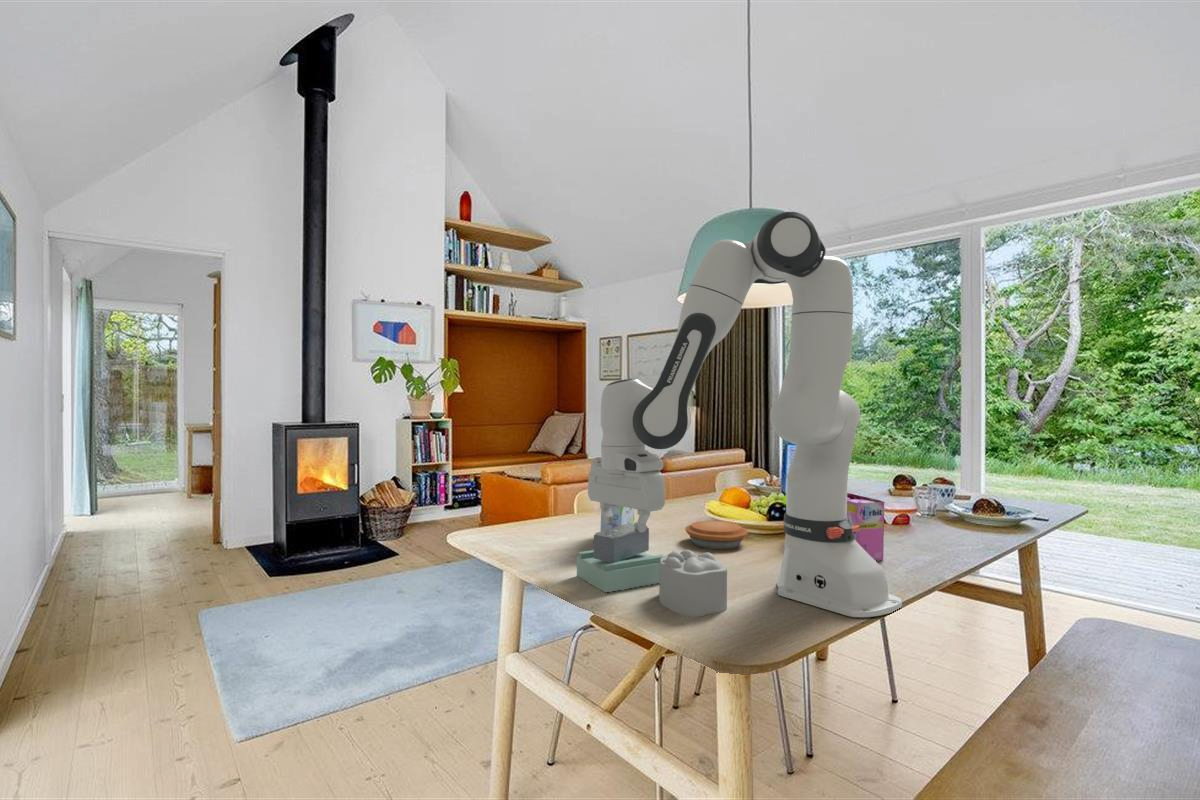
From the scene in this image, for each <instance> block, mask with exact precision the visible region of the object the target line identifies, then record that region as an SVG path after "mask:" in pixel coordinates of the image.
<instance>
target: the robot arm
mask: <svg viewBox="0 0 1200 800" xmlns="http://www.w3.org/2000/svg"><path fill="white" fill-rule="evenodd" d="M826 250H827V249H826V247H825V245H824V244H823V242H822V240H821V238H820V236H819V232H818V231H817V229H816V227H815V225H814V223H813V221H811V219H810V218H809V217H808V216H807V215H805V214H803V213H801V212H797V211H782V212H779V213H777V214H775V215H772V216H771V217H770V218H769V219H767V220H766V221H765V222H764V223H763V224H762V226H761V227H760V228H759V230H758V231H757V233H756V234H755V236H754V237H753V238H752V239H751V240H750V241H748V242H740V241H738V240H735V239H727V238H726V239H720V240H717V241H715V242H714V243H713V244H711V245H710V246H709V248H708V250H707V252H705V254H704V256H703V257H702V259H701V261H700V263H699V265H698V267H697V268H696V270H695V273H694V275H693V277H692V278H691V281H690V283H689V286H688V288H687V292H686V294H685V297H684V300H683V303H682V307H681V312H680V316H679V321H678V328H677V332H676V336H675V340H674V343H673V346H672V347H671V351H670V352H669V355H668V357H667V360H666V362H665V365H664V366H663V369H662V372H661V374H660V376H659V378H658V380H657V382H656V384H655V386H654V387H650V386H648V385H646V384H645V383H643V382H642V381H641V380H640V379H638V378H628V379H626V378H625V379H619V380H615V381H613V382H610V383H608V384H607V385H606V386H605V387H604V388H603V390H602V393H601V399H600V400H601V401H600V426H601V429H602V439H601V442H600V449H601V450H600V452H601V453H600V455H601V457H599V456H596V457H595V458H594V459H593V460H592V462H591V465H590V469H589V473H588V481H587V483H588V484H587V495H588V499H589V501H591V502H597V503H599V507H600V511H601V510H602V513H603V515H604V523H605V524H606V525H614V524H615V516H613V514H612V511H611V508H610V507H612V505H617V506H623V507H628V508H633V509H634V510H637V515H638V520H637V521H634V526H635V528H634V529H635V531H636V532H645V531H646V526H647V522H648V519H649V518H650V516H651V512H657V511H660V510H662V509H663V508H664V506H665V504H666V488H665V486H666V484H665V478H664V477H665V476H664V474H663V473H662V472H661V471H662V470H663V469H664V460H663V459H662V458H660V457H659V456H657V455H655V454H653V453H652V452H650V451H648V450H647V449H646V448H645V447H649V448H651V449H654V450H665V449H670V448H672V447H675V446H676V445H677V444H679V443H680V442H681V440H682V439H683V438H684V436H685V435H686V433H687V432H688V430H689V428H690V426H691V423H692V422H691V421H692V415H691V411H690V408H689V407H688V404H689V399H690V396H691V393H692V390H693V388H694V385H695V383H696V381H697V379H698V376H699V375H700V374H699V373H700V372H701V371H700V370H701V368H702V367H703V364H704V362H705V360H706V358H707V356H709V353H710V352H712V349H714V347H715V346H717V344H719V343H720V342H721V341H723V339H725V337H727V335H728V333H729V332H730V331H731V329H732V328H733V325H734V324H735V322H736V320H737V319H738V317H739V315H740V313H741V310H742V307H743V306H744V303H745V300H746V297H747V295H748V292H749V291H750V289H751V287H752V285H753V284H767V285H775V284H778V285H779V284H781V283H787V284H788V286H789V288H790V290H791V295H792V308H791V322H790V323H791V327H790V343H789V344H790V345H789V354H788V361H787V365H786V369H785V374H784V377H783V380H782V381H783V382H782V384H781V387H780V391H779V394H778V396H777V398H776V399H775V401H774V402H773V404H772V406H771V408H770V414H769V419H770V424H771V428H772V429H773V431H774V433H775V434H776V435H777V436H778V437H779V438H781V439H782V440H784V441H786V442H787V443H791V444H793V445H796V447H795V451H794V454H793V459H792V461H791V464H790V466H789V468H788V470H787V473H786V504H785V510H786V511H785V513H783V521H782V524H783V532H784V534H785V537H784V539H785V540H784V547H783V552H782V553H783V555H782V558H781V565H780V566H781V567H780V570H779V575H778V578H777V581H776V586H777V588H778V589H777V595H778V596H780V597H783V598H787V599H791V600H793V601H797V602H800V603H803V604H807V605H810V606H814V607H817V608H819V609H820V608H821V609H824V610H827V611H830V612H834V613H837V614H839V615H840V614H841V615H844V616H847V617H850V618H871V617H879V616H884V615H888V614H890V613H894V612H896V611H898V610H900V609H901V608H902V607H903V601H902V600H903V599H902V598H900V597H899V596H896V595H893V594H891V593H890V592H889V587H888V585H889V584H888V578H887V575H886V572H885V570H884V568H883V566H882V565H880V564H879V562H878V561H875V560H874V559H873V558H872V557H871V556H870V555H869V554H868V553H867V552H866V551H865V550H864V549H863V548H862V547H861V546H860V545H859V544H858V543H857V542H856V541H855V535H854V532H857V531H860V530H855V529H856V528H858V527H860V526H859V525H856V526H851V523H850V521H849V518H848V517H847V493H848V480H849V479H848V478H849V477H848V476H849V470H850V464H851V459H852V454H853V450H854V444H855V443H854V442H855V437H856V432H857V431H856V430H857V428H858V426H859V424H860V421H861V411H860V410H861V409H860V407H859V404H858V402H857V401H856V400H855V399H854V398H853V397H852V396H851V395H850V394H849V393H847V392H845V391H844V390H842V389H841V387H842V382H843V379H844V375H845V370H846V369H847V365H848V362H850V359H851V356H852V344H853V343H852V342H853V325H854V324H853V320H854V319H853V318H854V294H853V293H854V292H853V290H854V289H853V283H852V276H851V270H850V267H849V265H848V264H847V262H845V261H844V260H843V259H840V258H838V257H835V256H831V255H826V252H827V251H826ZM899 608H900V609H899ZM897 609H898V610H897ZM895 610H896V611H895ZM893 611H894V612H893Z"/></svg>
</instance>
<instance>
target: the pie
mask: <svg viewBox="0 0 1200 800" xmlns="http://www.w3.org/2000/svg"><path fill="white" fill-rule="evenodd" d="M684 530H685V532H686V533H687V535H689V538H690V540H691V541H692V543H693V545H695V546H697V547H700V548H704V549H709V548H710V550H711V549H712V550H730V549H729V548H731V549H735V548H737V547H739V546H740V545H741V542H742V541H743V539H744V538H745V537H746V536H747V535H748V534H749V531H748V530H747V529H746V528H745V527H743V526H742V525H740V524H738V523H734V522H729V521H724V520H701V521H696V522H692V523H691V524H689V525H687V526H685V528H684Z"/></svg>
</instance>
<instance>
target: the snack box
mask: <svg viewBox="0 0 1200 800" xmlns="http://www.w3.org/2000/svg"><path fill="white" fill-rule="evenodd" d="M610 508H611V511H612V514H613V516H615V524H614V525H606V524H605V523H604V515H603V513H602V510H601V509H600V530H599V532H601V531H604V530H608V529H611V528H615V527H618V526H622V525H625V524H628V523H631V524H634V523H635V509H633V508H628V507H623V506H617V505H612V507H610Z"/></svg>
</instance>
